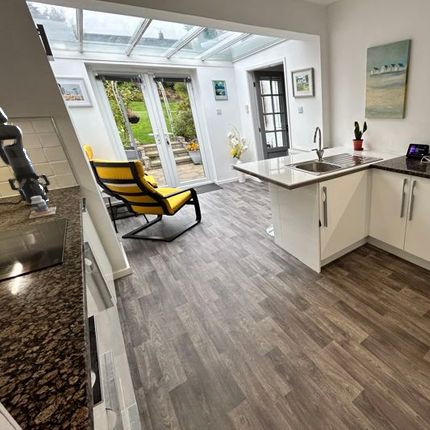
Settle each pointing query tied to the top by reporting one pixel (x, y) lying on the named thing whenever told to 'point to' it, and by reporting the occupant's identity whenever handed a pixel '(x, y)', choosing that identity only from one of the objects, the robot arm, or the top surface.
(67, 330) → the top surface
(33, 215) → the drawing board
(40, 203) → the pill bottle
